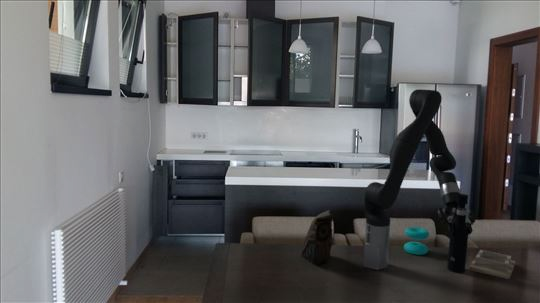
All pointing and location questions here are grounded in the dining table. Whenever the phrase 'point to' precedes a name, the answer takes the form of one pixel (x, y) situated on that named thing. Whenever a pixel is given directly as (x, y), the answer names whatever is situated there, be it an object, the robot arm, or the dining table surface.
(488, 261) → the bottle stand
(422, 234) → the donuts
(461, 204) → the wine bottle
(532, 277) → the dining table surface
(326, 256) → the owl
